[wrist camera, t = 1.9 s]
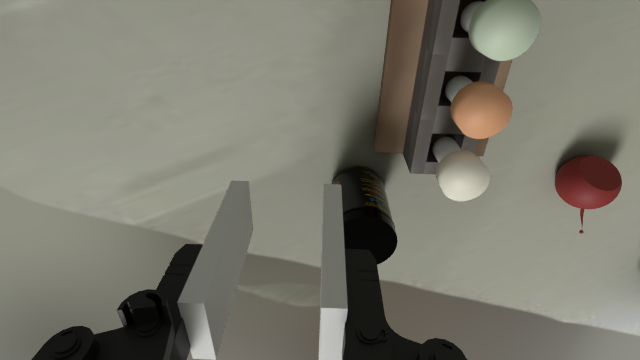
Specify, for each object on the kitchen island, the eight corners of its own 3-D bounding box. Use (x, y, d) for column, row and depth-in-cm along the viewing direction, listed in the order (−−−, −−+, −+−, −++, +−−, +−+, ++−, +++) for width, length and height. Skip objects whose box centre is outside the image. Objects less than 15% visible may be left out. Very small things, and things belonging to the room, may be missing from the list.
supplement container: (336, 159, 43) (338, 211, 34) (390, 168, 43) (406, 222, 34) (325, 203, 46) (324, 261, 37) (375, 212, 47) (386, 271, 38)
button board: (373, 148, 42) (379, 172, 37) (394, -29, 32) (405, -28, 28) (479, 152, 42) (498, 176, 37) (532, -25, 32) (566, -22, 28)
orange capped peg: (432, 108, 34) (452, 138, 28) (441, 65, 31) (464, 88, 26) (474, 110, 34) (503, 139, 28) (486, 67, 31) (519, 90, 26)
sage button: (445, 42, 30) (471, 60, 25) (456, -11, 28) (487, -4, 23) (492, 43, 30) (529, 62, 25) (506, -10, 28) (549, -2, 23)
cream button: (421, 164, 37) (437, 200, 31) (428, 128, 35) (447, 160, 29) (459, 165, 37) (482, 201, 31) (469, 129, 35) (496, 162, 29)
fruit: (536, 173, 45) (553, 232, 42) (564, 148, 40) (586, 214, 37) (584, 175, 45) (606, 235, 42) (618, 151, 40) (646, 216, 37)
